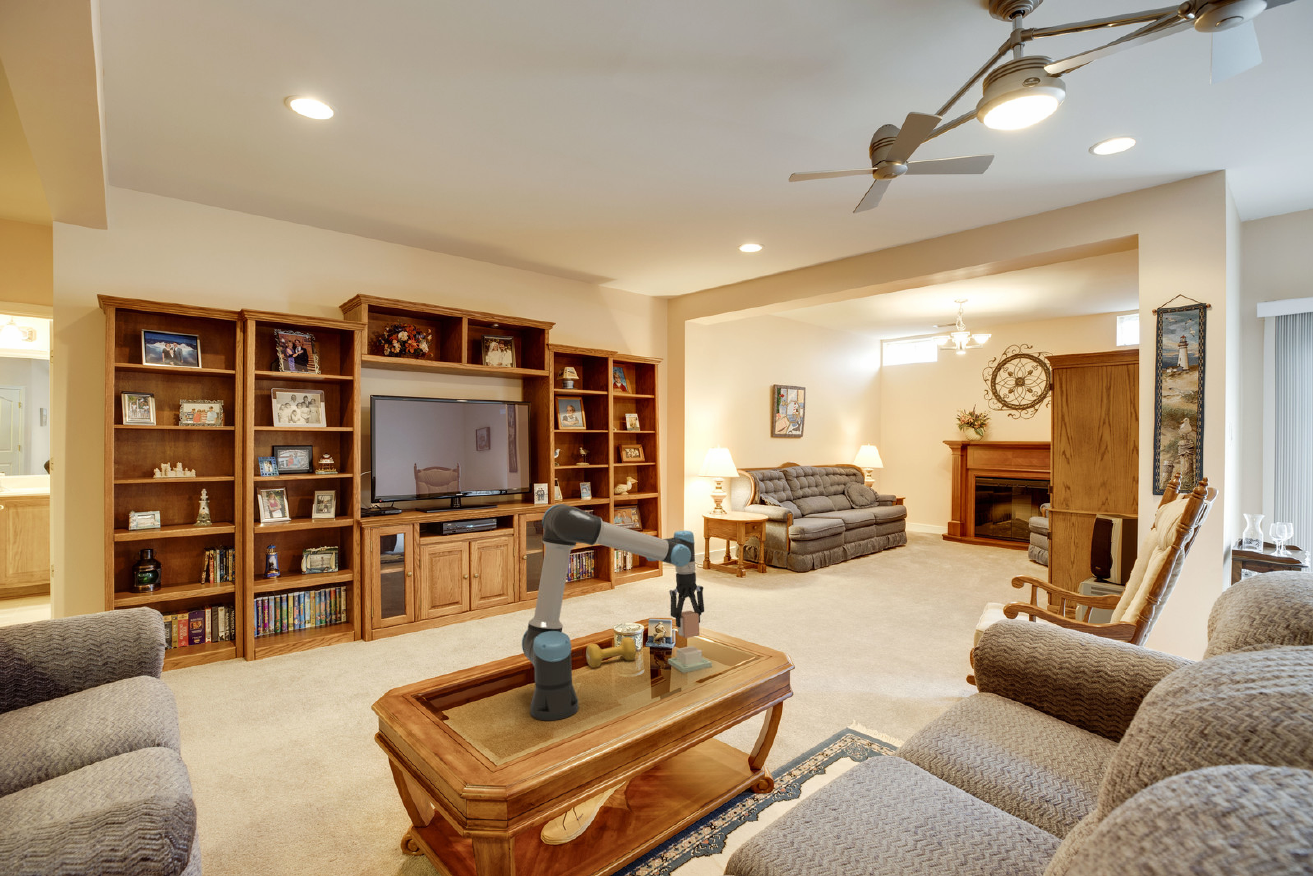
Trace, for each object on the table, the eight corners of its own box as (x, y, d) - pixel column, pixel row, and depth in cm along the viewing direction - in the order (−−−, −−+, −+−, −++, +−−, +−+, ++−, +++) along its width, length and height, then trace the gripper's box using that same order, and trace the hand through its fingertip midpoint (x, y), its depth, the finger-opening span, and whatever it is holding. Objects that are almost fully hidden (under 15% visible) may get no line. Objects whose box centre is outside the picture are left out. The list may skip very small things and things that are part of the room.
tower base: (683, 673, 220) (682, 657, 220) (668, 663, 230) (667, 648, 231) (711, 666, 225) (710, 651, 225) (695, 657, 236) (694, 642, 236)
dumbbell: (629, 655, 242) (629, 634, 242) (638, 661, 234) (637, 640, 234) (584, 663, 234) (583, 642, 234) (592, 671, 226) (591, 649, 226)
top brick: (685, 638, 224) (684, 616, 224) (677, 634, 229) (676, 613, 230) (699, 635, 227) (698, 614, 227) (691, 631, 232) (690, 610, 232)
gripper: (667, 577, 221) (670, 640, 220) (712, 570, 229) (715, 631, 229) (658, 573, 228) (661, 635, 227) (702, 567, 236) (705, 626, 236)
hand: (688, 633), depth 228 cm, fingers closed on top brick, 6 cm apart
